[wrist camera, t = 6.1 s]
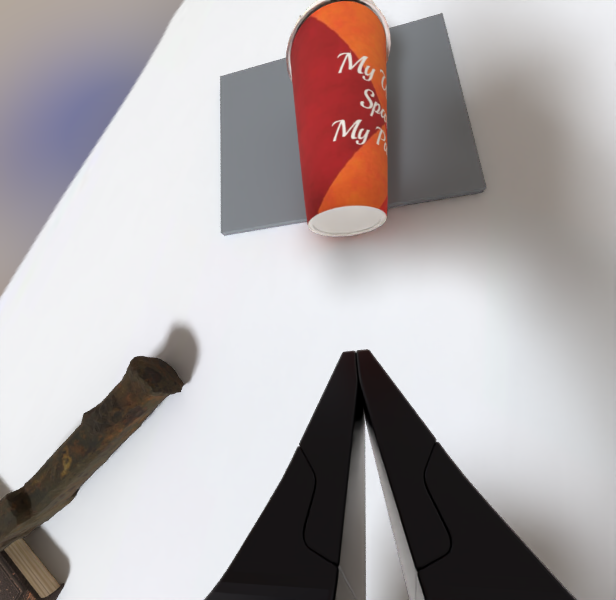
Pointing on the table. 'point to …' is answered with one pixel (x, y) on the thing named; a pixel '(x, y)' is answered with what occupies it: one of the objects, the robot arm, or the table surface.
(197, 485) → the table surface
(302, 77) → the paper cup
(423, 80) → the mat
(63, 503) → the brown wooden branch
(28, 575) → the hardcover book
